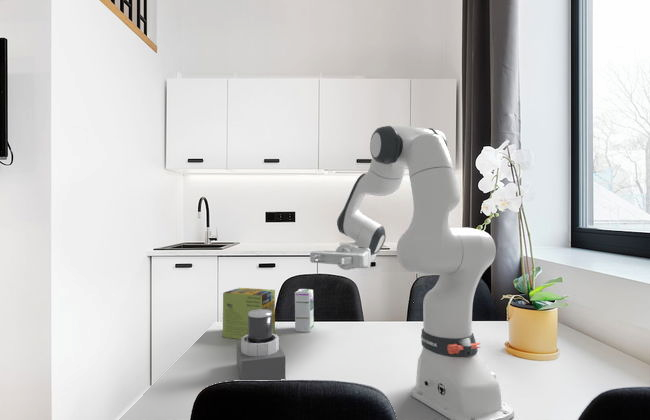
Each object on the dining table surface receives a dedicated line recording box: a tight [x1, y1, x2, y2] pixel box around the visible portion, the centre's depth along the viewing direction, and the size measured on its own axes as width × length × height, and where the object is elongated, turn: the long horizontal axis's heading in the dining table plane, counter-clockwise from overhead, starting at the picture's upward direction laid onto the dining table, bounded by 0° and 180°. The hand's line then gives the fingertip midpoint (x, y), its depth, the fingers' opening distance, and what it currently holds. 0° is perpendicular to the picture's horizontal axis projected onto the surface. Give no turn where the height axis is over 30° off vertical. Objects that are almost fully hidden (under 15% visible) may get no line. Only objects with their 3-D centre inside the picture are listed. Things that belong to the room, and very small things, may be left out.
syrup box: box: [294, 288, 315, 333], centre depth 139 cm, size 6×6×14 cm
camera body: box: [236, 333, 287, 380], centre depth 102 cm, size 14×11×9 cm
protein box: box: [222, 287, 276, 340], centre depth 133 cm, size 10×15×16 cm
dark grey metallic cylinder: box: [248, 309, 272, 343], centre depth 102 cm, size 6×6×10 cm
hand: (326, 260), depth 119 cm, fingers open, 8 cm apart
